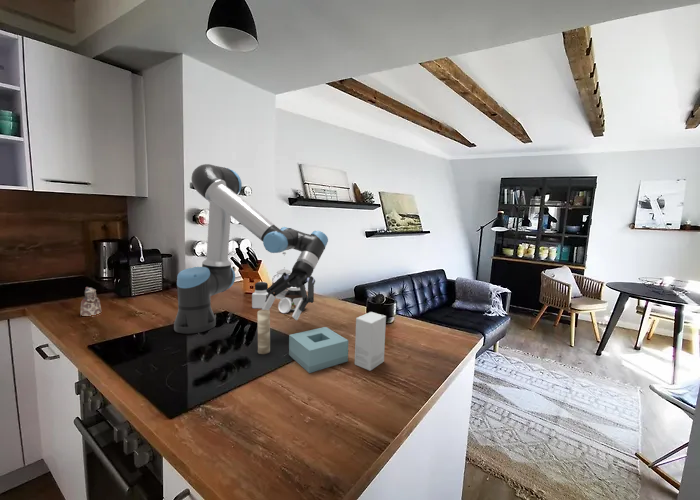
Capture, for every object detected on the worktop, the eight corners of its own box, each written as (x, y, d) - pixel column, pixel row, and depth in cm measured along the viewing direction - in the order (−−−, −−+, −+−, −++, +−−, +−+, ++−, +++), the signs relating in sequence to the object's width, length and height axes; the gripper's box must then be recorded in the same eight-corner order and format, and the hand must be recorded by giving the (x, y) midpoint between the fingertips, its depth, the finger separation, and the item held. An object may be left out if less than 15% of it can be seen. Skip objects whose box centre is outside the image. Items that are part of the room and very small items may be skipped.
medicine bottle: (266, 308, 153) (266, 284, 152) (251, 308, 154) (251, 284, 152) (270, 304, 160) (270, 281, 159) (256, 304, 161) (256, 280, 159)
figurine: (83, 318, 134) (81, 290, 133) (78, 314, 138) (76, 287, 137) (103, 314, 140) (101, 287, 138) (98, 310, 144) (96, 284, 143)
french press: (289, 300, 169) (289, 253, 166) (268, 298, 171) (268, 252, 168) (295, 295, 179) (296, 251, 176) (276, 293, 181) (276, 250, 178)
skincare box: (369, 356, 106) (370, 310, 105) (385, 362, 102) (387, 315, 100) (353, 364, 100) (354, 317, 98) (370, 372, 96) (372, 322, 94)
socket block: (309, 373, 94) (309, 350, 93) (289, 355, 105) (289, 334, 105) (347, 361, 102) (348, 340, 101) (325, 345, 114) (325, 326, 113)
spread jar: (307, 307, 157) (307, 284, 155) (301, 315, 145) (301, 290, 144) (283, 306, 158) (283, 283, 156) (276, 313, 146) (276, 289, 145)
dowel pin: (260, 355, 105) (259, 314, 103) (256, 350, 108) (255, 310, 106) (271, 352, 107) (271, 312, 105) (267, 348, 110) (267, 308, 109)
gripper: (336, 275, 118) (312, 326, 107) (284, 268, 130) (258, 313, 119) (328, 263, 113) (303, 315, 102) (275, 257, 125) (247, 303, 114)
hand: (278, 314), depth 111 cm, fingers open, 13 cm apart
